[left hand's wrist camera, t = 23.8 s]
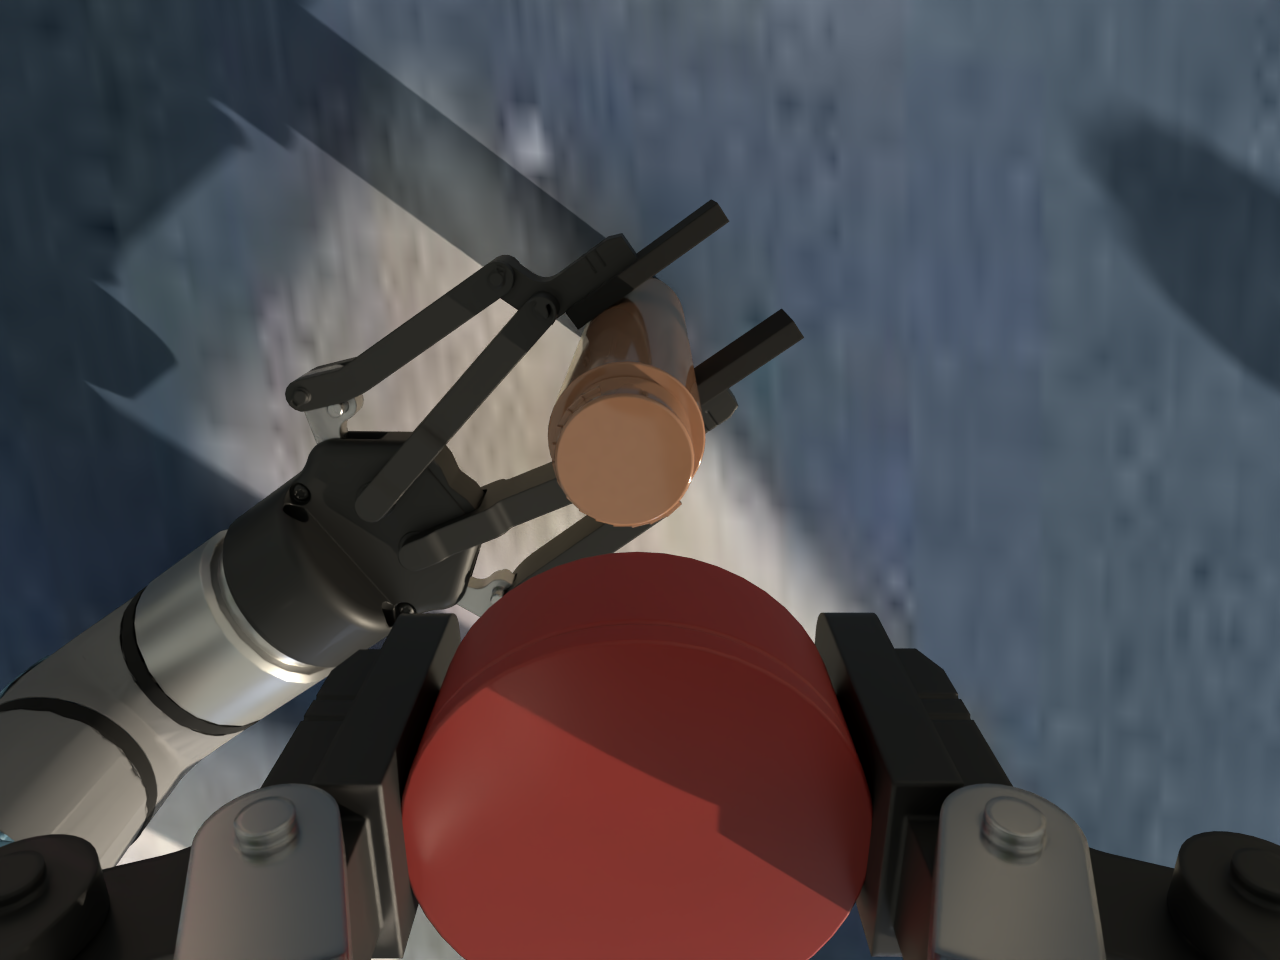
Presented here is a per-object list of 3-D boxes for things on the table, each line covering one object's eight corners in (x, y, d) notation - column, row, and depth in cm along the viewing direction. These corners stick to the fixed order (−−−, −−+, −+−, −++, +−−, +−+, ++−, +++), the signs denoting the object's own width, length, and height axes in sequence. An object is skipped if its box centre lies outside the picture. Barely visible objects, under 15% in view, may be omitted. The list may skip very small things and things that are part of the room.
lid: (908, 758, 11) (964, 882, 9) (605, 934, 12) (598, 1080, 10) (677, 467, 10) (687, 543, 8) (357, 696, 11) (297, 813, 9)
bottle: (571, 319, 39) (504, 458, 21) (639, 253, 38) (627, 343, 20) (635, 386, 40) (621, 570, 22) (703, 324, 39) (744, 466, 21)
